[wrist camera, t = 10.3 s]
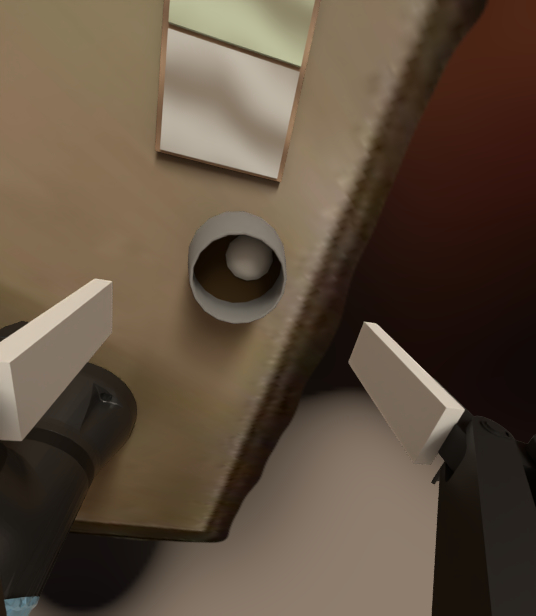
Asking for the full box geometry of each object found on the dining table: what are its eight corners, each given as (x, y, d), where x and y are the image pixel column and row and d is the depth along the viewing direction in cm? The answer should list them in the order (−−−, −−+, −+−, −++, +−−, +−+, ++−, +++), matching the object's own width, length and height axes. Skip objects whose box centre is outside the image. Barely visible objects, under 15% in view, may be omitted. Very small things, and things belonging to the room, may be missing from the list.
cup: (262, 194, 29) (275, 198, 20) (290, 274, 33) (312, 309, 24) (177, 228, 29) (152, 247, 20) (215, 304, 33) (208, 349, 24)
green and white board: (279, 182, 28) (281, 182, 28) (157, 151, 26) (154, 150, 25) (333, -64, 22) (338, -76, 21) (174, -134, 20) (171, -151, 19)
